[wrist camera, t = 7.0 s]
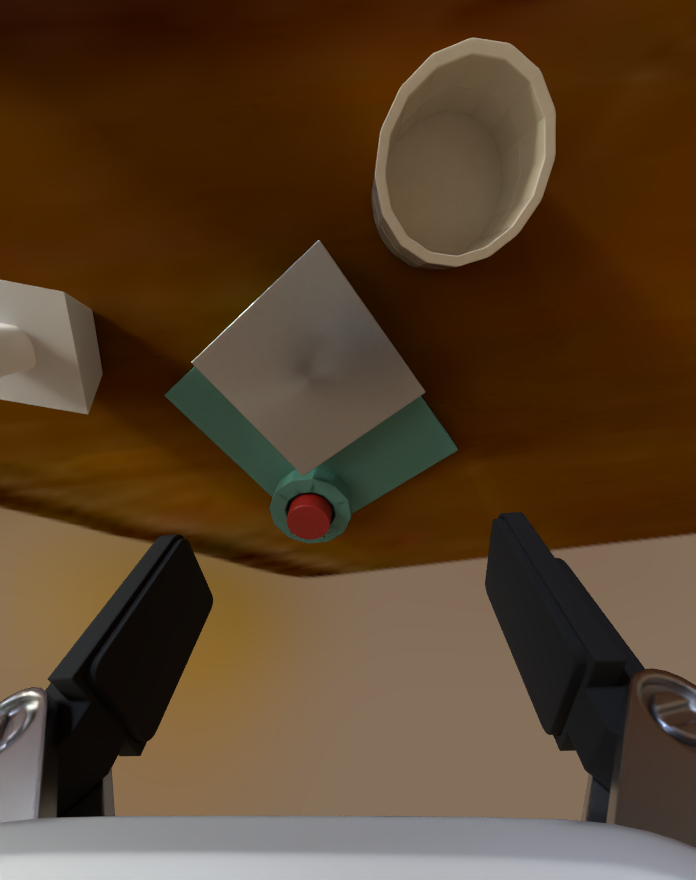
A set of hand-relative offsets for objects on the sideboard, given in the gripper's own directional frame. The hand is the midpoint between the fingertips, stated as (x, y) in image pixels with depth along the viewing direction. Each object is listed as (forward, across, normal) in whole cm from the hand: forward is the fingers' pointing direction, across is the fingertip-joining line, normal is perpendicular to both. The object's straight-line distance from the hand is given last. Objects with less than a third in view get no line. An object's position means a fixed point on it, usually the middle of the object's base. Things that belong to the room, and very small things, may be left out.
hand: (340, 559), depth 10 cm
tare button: (+12, +4, +8) cm, 15 cm away
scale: (+15, +3, +1) cm, 15 cm away
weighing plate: (+15, +2, -3) cm, 15 cm away
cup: (+15, -6, -11) cm, 20 cm away
